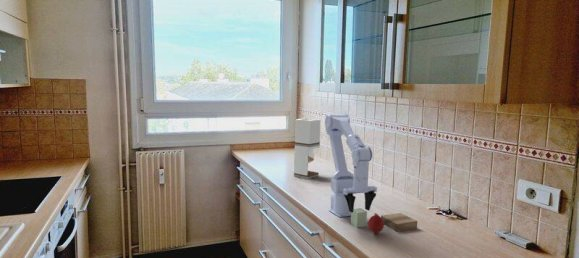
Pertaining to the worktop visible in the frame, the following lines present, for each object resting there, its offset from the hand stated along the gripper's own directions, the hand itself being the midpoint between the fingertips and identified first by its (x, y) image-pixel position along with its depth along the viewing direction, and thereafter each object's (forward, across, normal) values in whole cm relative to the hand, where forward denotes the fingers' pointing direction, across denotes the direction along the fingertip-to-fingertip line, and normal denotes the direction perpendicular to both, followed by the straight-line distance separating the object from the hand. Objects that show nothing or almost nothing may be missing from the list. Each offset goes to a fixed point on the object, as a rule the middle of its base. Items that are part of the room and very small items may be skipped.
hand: (359, 210), depth 150 cm
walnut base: (+6, +15, -6) cm, 17 cm away
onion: (+6, +1, -10) cm, 12 cm away
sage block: (+6, 0, 0) cm, 6 cm away
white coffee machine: (+6, +16, +82) cm, 84 cm away
